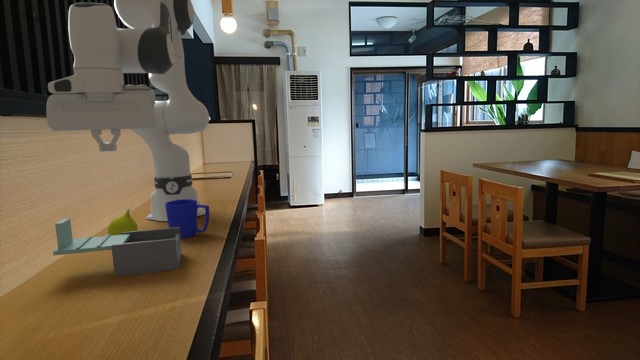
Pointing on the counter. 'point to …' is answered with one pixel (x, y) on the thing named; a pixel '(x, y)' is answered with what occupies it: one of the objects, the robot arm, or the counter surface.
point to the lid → (83, 240)
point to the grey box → (148, 252)
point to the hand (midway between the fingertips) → (108, 151)
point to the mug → (185, 216)
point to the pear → (122, 224)
